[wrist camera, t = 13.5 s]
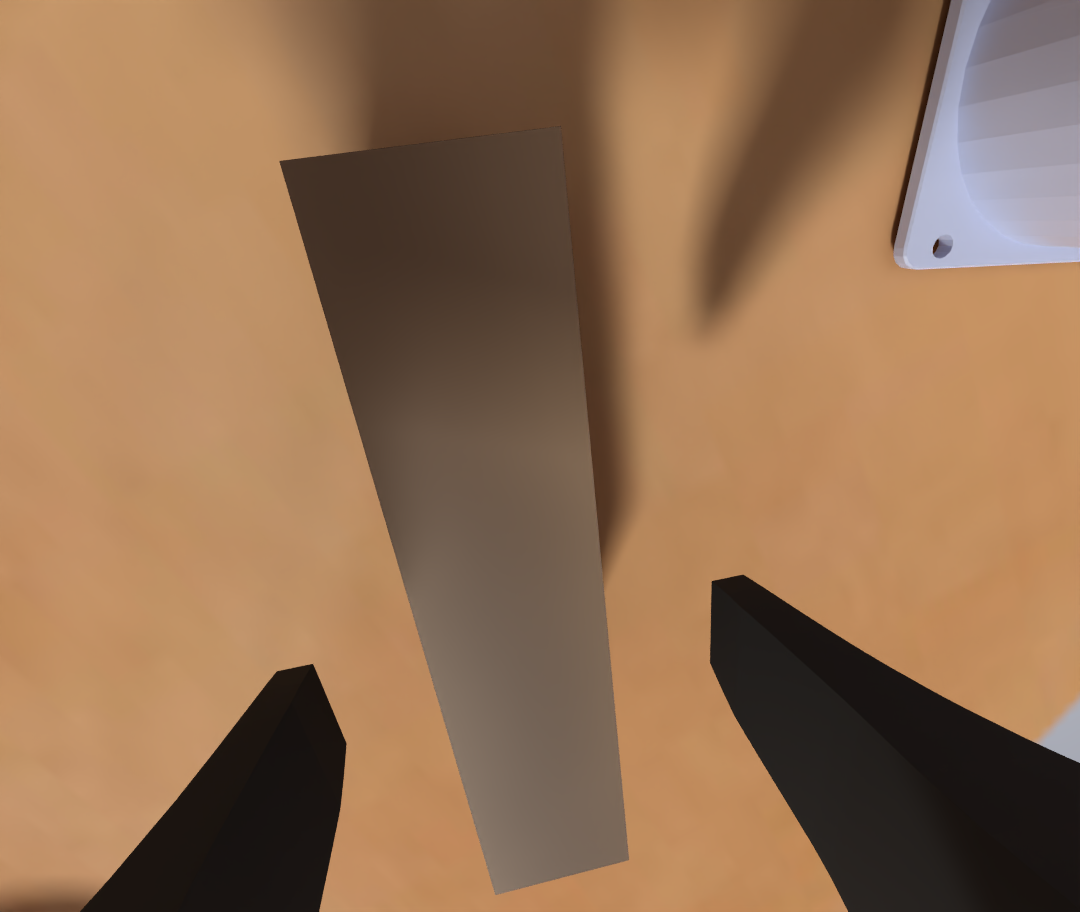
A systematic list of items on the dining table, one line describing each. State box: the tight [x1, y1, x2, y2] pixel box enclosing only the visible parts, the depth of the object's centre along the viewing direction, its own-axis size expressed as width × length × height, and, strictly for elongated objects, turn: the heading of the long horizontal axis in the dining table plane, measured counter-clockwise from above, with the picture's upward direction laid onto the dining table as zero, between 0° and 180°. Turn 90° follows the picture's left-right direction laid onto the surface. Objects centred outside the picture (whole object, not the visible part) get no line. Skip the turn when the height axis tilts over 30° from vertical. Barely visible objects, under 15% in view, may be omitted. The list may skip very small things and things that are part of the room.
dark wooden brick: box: [280, 126, 629, 895], centre depth 11 cm, size 3×14×6 cm, turn 7°
